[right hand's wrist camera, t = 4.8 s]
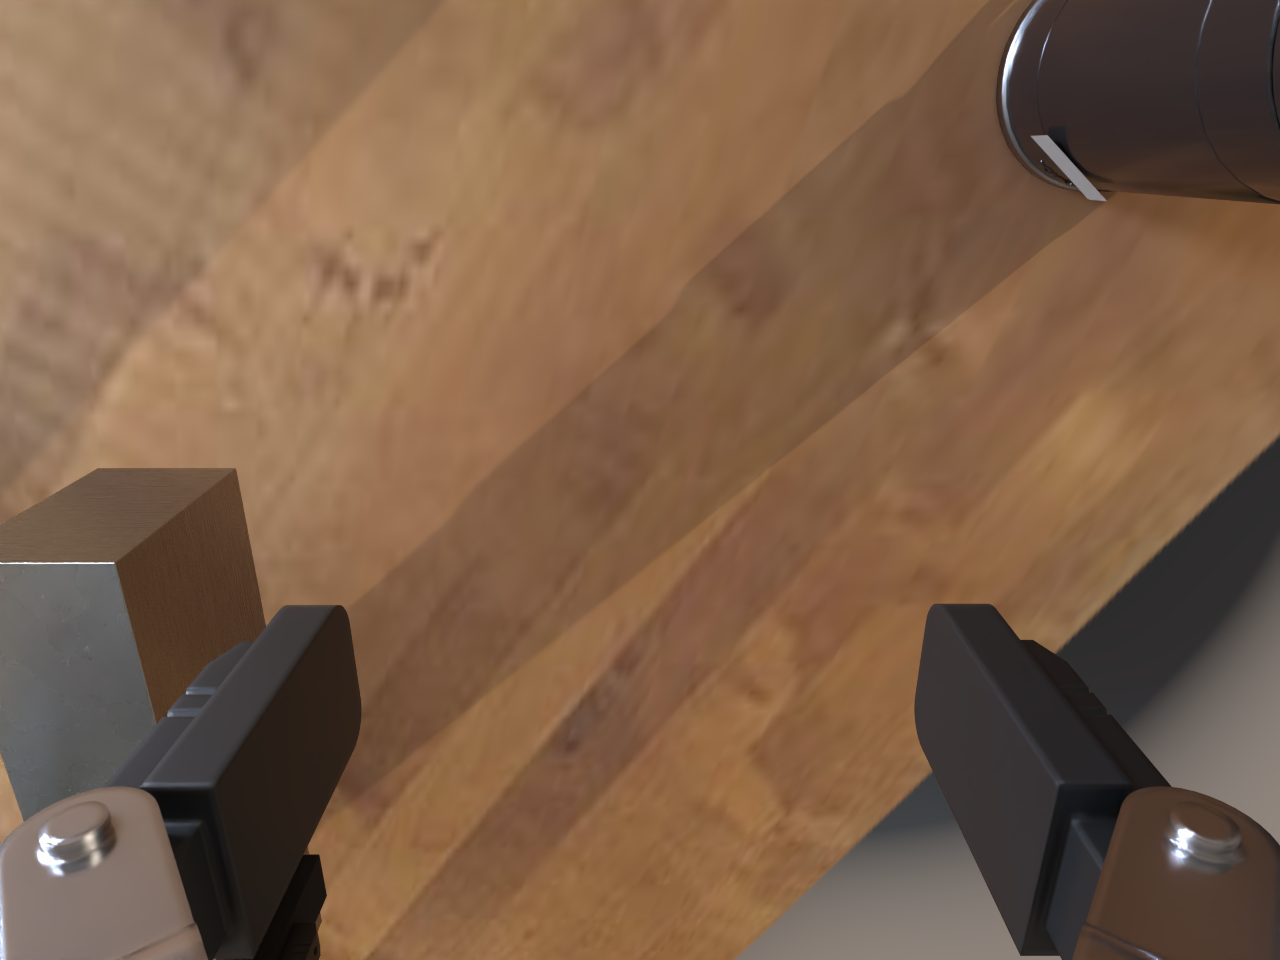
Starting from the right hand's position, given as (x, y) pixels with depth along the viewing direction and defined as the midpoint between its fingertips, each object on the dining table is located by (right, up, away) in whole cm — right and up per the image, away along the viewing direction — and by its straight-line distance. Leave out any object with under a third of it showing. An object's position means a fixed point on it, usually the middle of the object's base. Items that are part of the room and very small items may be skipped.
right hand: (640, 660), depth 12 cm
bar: (-19, -9, +27) cm, 34 cm away
